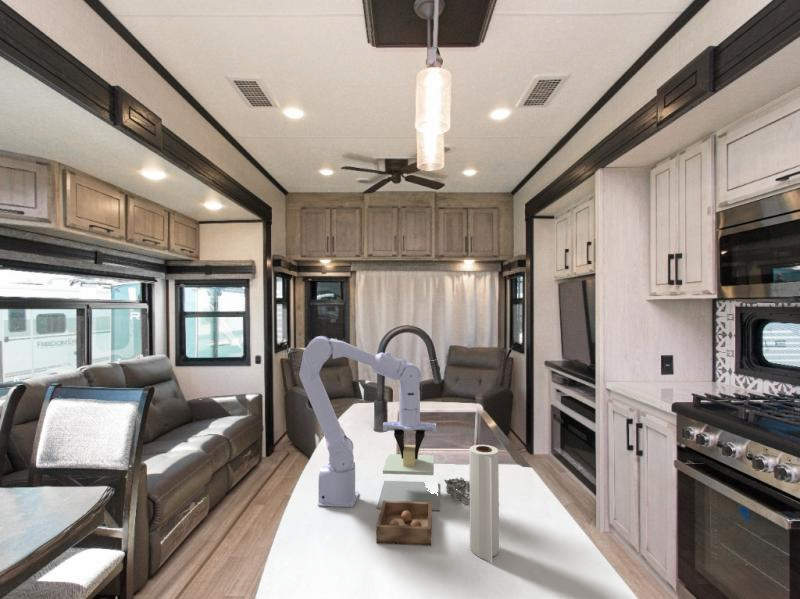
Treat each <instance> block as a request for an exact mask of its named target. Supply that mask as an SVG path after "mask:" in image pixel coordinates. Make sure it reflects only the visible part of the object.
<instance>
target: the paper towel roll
mask: <svg viewBox="0 0 800 599" xmlns="http://www.w3.org/2000/svg"><path fill="white" fill-rule="evenodd" d="M468 451H469V463H468V464H469V481H470V493H469V496H470V505H469V547H470V550H471V552H472V553H473V554H475V555H476V556H477V557H478V558H481V559H482V560H486V561H488V562H489V563H490V564H493V557H496V556H497V554H499V552H500V504H499V503H500V501H499V496H500V494H499V486H500V480H499V449H498V448H497V447H495V446H493V445H488V444H475V445H472V446H470V447H469V450H468Z"/></svg>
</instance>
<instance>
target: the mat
mask: <svg viewBox="0 0 800 599" xmlns="http://www.w3.org/2000/svg"><path fill="white" fill-rule="evenodd" d="M424 482H425V481H407V480H405V481H404V480H403V481H402V480H383V485H382V487H381V491H380V495H379V498H378V502H377V505H376V509H377V510H381V507H382V503H383V501H407V502H432V510H441V509H440V506H441V504H440V503H441V502H440V494H439V495H438V496H437V494H435V493H434V494H431V493H430V492H429V491H430V490H429V491H427V490H428V488H426V487H425V486H426V485H425V483H424ZM437 493H438V492H437Z"/></svg>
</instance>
